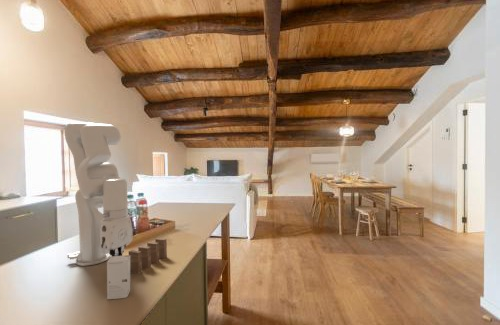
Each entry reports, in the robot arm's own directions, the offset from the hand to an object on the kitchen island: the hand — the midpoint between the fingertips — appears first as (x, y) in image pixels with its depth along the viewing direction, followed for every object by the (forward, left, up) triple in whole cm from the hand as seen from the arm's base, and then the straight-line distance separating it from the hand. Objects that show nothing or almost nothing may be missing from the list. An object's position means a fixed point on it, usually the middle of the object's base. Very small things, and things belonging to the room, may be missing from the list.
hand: (117, 265), depth 91 cm
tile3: (+13, +13, -6) cm, 19 cm away
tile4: (+17, +16, -6) cm, 24 cm away
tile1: (+6, +6, -6) cm, 10 cm away
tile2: (+9, +9, -6) cm, 14 cm away
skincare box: (+1, -10, -6) cm, 12 cm away
